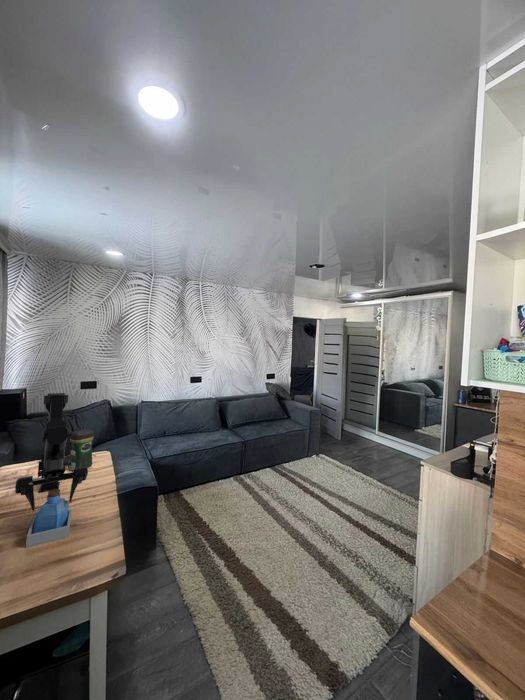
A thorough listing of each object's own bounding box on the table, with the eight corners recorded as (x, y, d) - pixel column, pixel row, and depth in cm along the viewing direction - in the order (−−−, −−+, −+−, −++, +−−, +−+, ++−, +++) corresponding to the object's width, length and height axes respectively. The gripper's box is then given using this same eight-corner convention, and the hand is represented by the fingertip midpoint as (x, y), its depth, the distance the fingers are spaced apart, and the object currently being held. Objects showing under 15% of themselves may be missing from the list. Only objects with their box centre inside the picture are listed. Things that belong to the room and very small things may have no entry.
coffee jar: (84, 462, 138) (87, 426, 138) (94, 466, 134) (97, 429, 135) (64, 469, 129) (67, 430, 129) (74, 473, 125) (77, 433, 126)
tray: (32, 527, 87) (33, 517, 88) (70, 519, 93) (71, 509, 93) (25, 547, 79) (26, 536, 79) (68, 537, 84) (69, 526, 84)
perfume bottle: (33, 536, 83) (36, 496, 83) (46, 523, 89) (49, 486, 89) (55, 535, 84) (58, 496, 84) (67, 522, 90) (70, 486, 90)
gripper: (18, 452, 84) (11, 505, 75) (89, 443, 95) (90, 488, 87) (18, 468, 90) (12, 519, 81) (85, 458, 101) (86, 501, 93)
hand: (52, 506), depth 85 cm, fingers open, 9 cm apart
